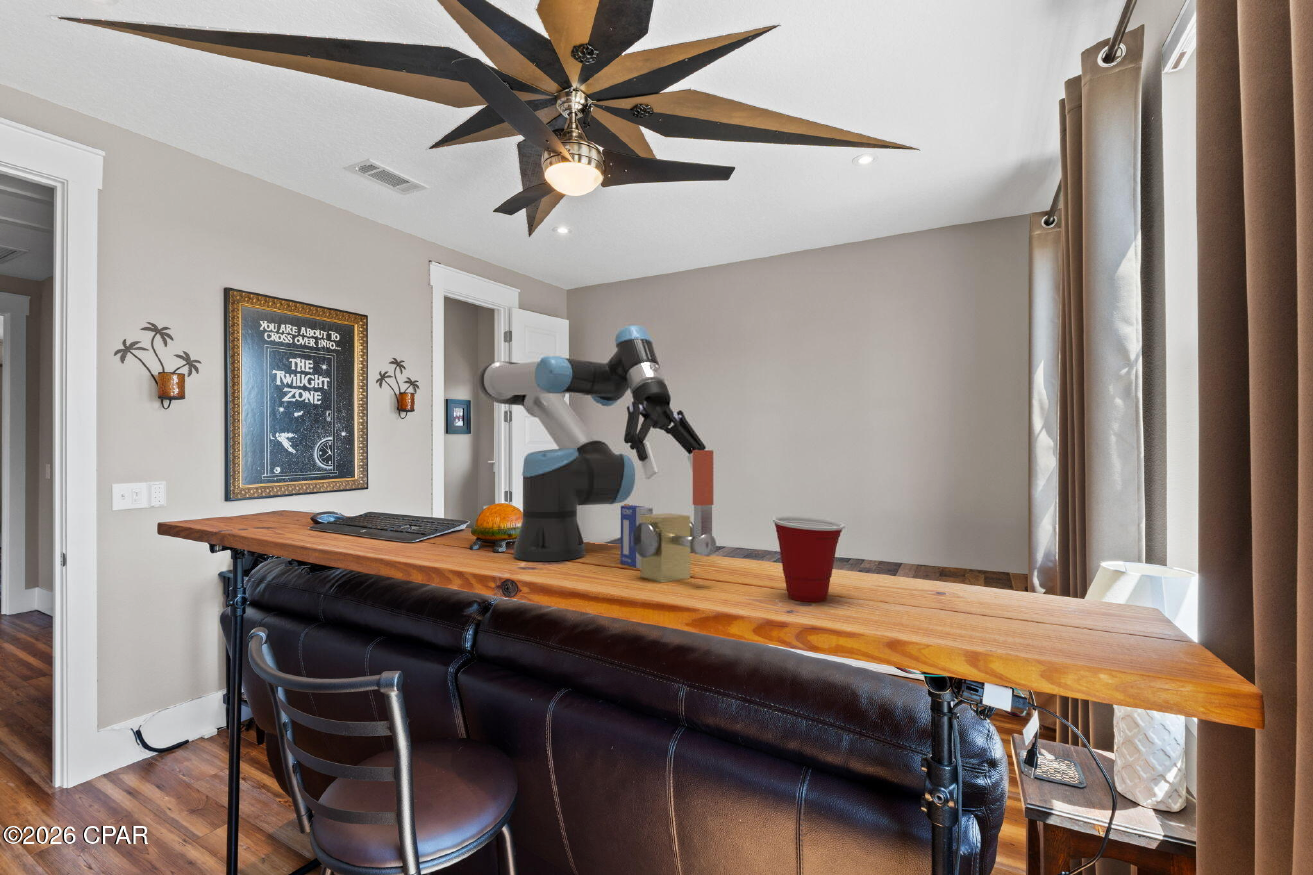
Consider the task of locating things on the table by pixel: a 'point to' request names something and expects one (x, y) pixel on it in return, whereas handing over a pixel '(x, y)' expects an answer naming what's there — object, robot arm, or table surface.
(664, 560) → the valve pipe
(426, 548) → the table surface
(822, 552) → the plastic cup
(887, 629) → the table surface
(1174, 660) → the table surface
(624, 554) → the walkman
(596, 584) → the table surface
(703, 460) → the valve lever
